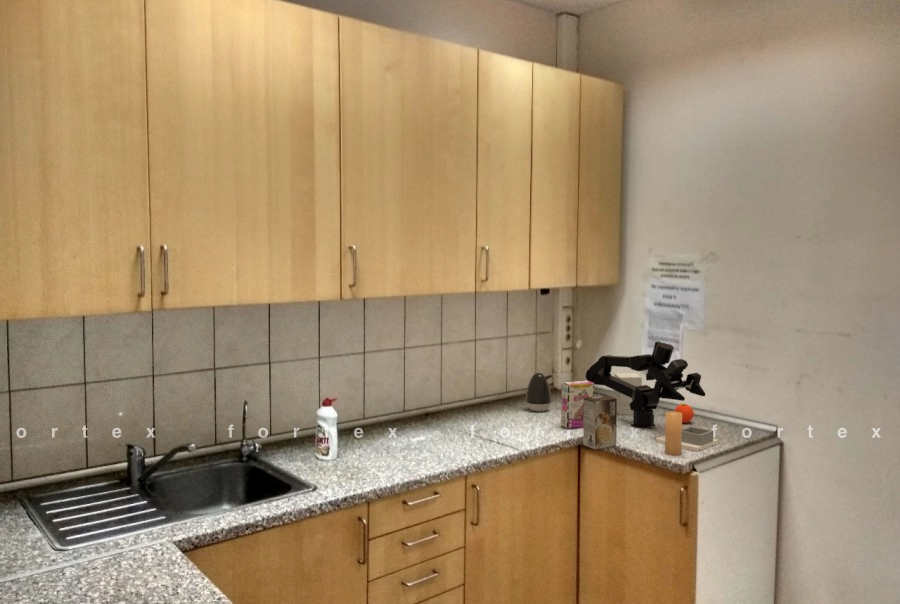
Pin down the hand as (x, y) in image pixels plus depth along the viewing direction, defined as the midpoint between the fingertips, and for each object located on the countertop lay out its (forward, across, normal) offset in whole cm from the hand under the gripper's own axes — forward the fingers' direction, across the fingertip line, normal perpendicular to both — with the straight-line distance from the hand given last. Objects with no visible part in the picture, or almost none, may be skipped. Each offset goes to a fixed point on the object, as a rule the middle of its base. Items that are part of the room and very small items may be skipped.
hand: (694, 397), depth 240 cm
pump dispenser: (-54, -22, +33) cm, 67 cm away
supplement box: (-36, +7, +29) cm, 46 cm away
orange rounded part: (+11, -16, +12) cm, 23 cm away
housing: (+5, -4, +14) cm, 16 cm away
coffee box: (-6, -32, +16) cm, 36 cm away
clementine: (-15, +15, +22) cm, 31 cm away
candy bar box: (-28, -24, +24) cm, 44 cm away
